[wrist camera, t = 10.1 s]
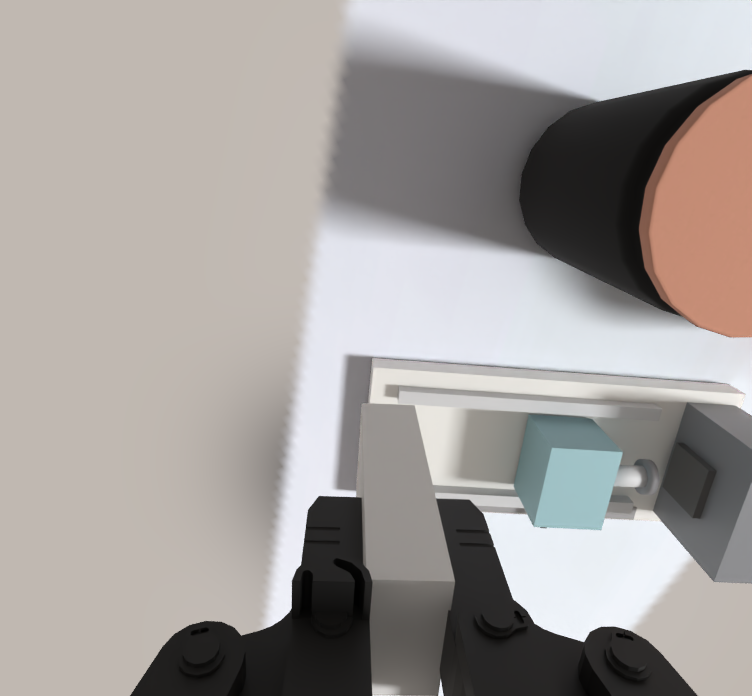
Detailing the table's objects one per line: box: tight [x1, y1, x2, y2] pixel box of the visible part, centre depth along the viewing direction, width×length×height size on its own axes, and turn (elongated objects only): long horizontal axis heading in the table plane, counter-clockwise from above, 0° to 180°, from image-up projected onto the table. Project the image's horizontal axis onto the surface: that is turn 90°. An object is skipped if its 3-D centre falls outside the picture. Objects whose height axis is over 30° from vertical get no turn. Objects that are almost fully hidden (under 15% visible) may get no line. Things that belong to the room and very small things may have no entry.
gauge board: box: [368, 358, 752, 583], centre depth 40 cm, size 12×29×10 cm, turn 84°
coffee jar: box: [520, 70, 752, 337], centre depth 30 cm, size 11×11×18 cm
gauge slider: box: [514, 415, 660, 530], centre depth 41 cm, size 9×9×5 cm
